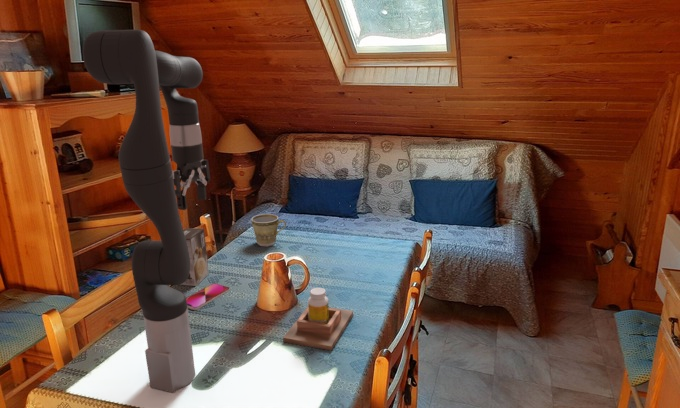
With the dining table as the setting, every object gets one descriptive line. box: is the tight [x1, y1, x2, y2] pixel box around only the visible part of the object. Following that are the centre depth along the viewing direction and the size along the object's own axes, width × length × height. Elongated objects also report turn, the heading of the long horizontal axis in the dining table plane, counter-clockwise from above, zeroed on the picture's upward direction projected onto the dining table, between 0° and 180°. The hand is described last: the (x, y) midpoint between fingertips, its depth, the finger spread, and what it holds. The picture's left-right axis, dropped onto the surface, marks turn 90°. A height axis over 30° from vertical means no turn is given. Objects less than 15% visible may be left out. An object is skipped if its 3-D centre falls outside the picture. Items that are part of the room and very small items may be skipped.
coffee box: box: [178, 227, 210, 287], centre depth 163 cm, size 9×6×16 cm
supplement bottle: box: [307, 287, 329, 324], centre depth 135 cm, size 5×5×10 cm
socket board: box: [282, 306, 354, 351], centre depth 136 cm, size 18×13×4 cm
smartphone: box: [186, 282, 231, 311], centre depth 154 cm, size 7×1×15 cm
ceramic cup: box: [251, 213, 287, 247], centre depth 192 cm, size 13×10×10 cm
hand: (193, 204), depth 132 cm, fingers open, 8 cm apart
